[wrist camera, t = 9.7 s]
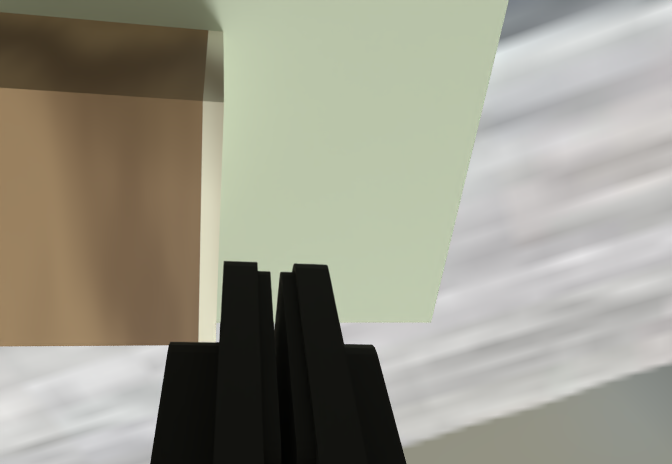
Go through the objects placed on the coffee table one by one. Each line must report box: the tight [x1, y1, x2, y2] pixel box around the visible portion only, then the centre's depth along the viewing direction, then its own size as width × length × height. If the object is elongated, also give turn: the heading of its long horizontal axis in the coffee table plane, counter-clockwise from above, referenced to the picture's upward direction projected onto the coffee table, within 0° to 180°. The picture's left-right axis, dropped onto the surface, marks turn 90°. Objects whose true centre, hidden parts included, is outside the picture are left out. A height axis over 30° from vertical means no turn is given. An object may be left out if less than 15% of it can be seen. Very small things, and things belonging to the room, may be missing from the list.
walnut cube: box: [0, 12, 224, 346], centre depth 16 cm, size 6×6×6 cm
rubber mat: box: [0, 0, 509, 323], centre depth 18 cm, size 23×14×1 cm, turn 83°
